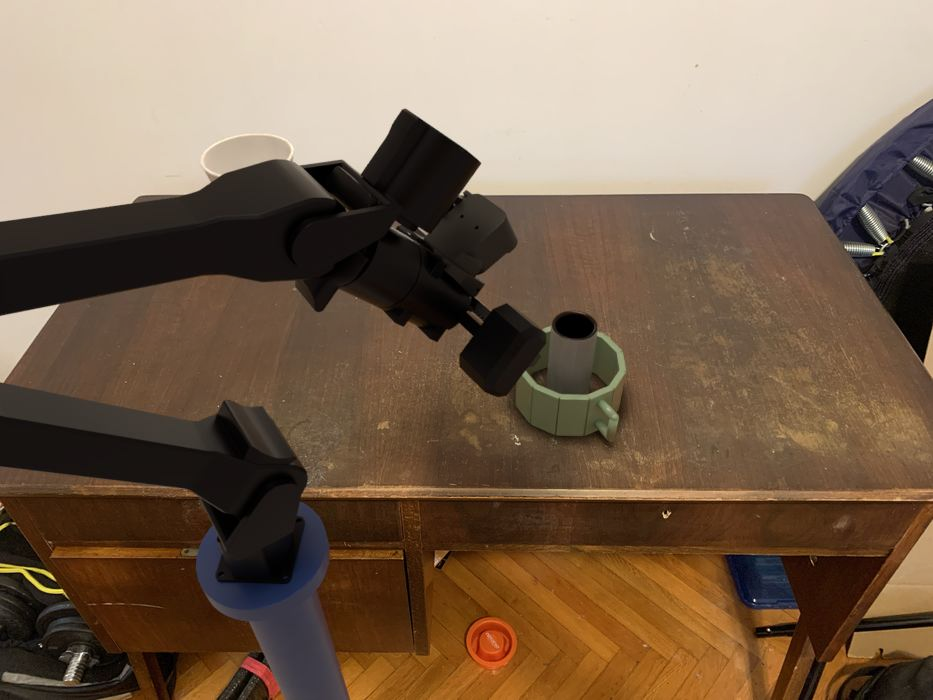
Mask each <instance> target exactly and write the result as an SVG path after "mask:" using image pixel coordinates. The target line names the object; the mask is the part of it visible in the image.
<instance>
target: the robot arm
mask: <svg viewBox="0 0 933 700" xmlns="http://www.w3.org/2000/svg"><path fill="white" fill-rule="evenodd" d="M481 165H482V162H481V161H480V160H479V159H478V158H477V157H476V156H474V154H472V153H471V152H470V151H468V149H466V148H464V147H463V146H462V145H460V144H459V143H458V142H456V141H454V140H453V139H451V138H450V137H448V136H447V135H446V134H444V133H443V132H441V131H440V130H438V129H437V128H435V127H434V126H433V125H431V124H429V123H428V122H426V121H425V120H424V119H422V118H421V117H420V116H418V115H416V114H415V113H414V112H412V111H410V110H409V109H407V108H406V107H405V108H402V109H401V110H400V112H399V113H398V115H397V116H396V117H395V119H394V120H393V122H392V124H391V125H390V128H389V131H388V133H387V135H386V136H385V137H384V140H382V142H381V144H380V145H379V147H378V148H377V150H376V151H375V153H374V154H373V155H372V157H371V159H370V160H369V161H368V163H367V164H366V166H365V167H364V169H363V171H362V172H360V171H358V170H357V169H355V168H354V167H353V166H351V165H350V164H349V163H348V162H347V161H346V160H344V159H334V160H328V161H322V162H321V161H320V162H315V163H313V162H312V163H307V164H298V163H296V162H295V161H293V162H292V161H289V160H283V159H273V160H269V161H265V162H261V163H258V164H255V165H251V166H248V167H244V168H241V169H238V170H234V171H231V172H228V173H225V174H223V175H221V176H220V177H218V178H217V179H215V180H214V181H212V182H209V183H208V184H206V185H205V186H204V187H202V188H200V189H199V190H196V191H193V192H190V193H187V194H183V195H179V196H175V197H168V198H161V199H152V200H146V201H140V202H139V201H138V202H132V203H124V204H118V205H110V206H104V207H95V208H88V209H82V210H74V211H66V212H60V213H53V214H45V215H38V216H32V217H31V216H30V217H24V218H17V219H16V218H15V219H9V220H1V221H0V317H3V316H7V315H13V314H17V313H22V312H28V311H33V310H37V309H38V310H39V309H42V308H48V307H54V306H59V305H63V304H68V303H73V302H79V301H83V300H88V299H93V298H99V297H103V296H108V295H113V294H118V293H123V292H129V291H133V290H138V289H143V288H149V287H153V286H158V285H164V284H169V283H174V282H179V281H183V280H184V281H185V280H190V279H194V278H198V277H207V276H209V277H210V276H228V277H232V278H236V279H237V278H238V279H242V280H248V281H251V282H252V281H253V282H257V283H277V282H294V286H295V288H296V290H297V291H298V292H299V294H300V295H301V296H302V297H303V298H304V300H305V301H306V302H307V303H308V304H309V306H310V307H311V308H312V309H313V310H314V311H315V312H316V313H321V312H324V310H325V309H326V308H327V306H328V305H329V303H330V301H331V300H332V299H333V298H334V296H335V295H336V293H337V292H338V291H339V290H340V291H342V292H345V293H346V294H348V295H351V296H353V297H355V298H357V299H358V300H361V301H364V302H366V303H367V304H370V305H372V306H374V307H376V308H378V309H380V310H382V311H383V312H384V313H385V314H386V315H387V316H388V318H389V319H390V320H391V321H392V322H393V323H395V324H396V325H398V326H401V327H403V328H404V327H405V326H406V325H407V324H408V323H410V324H412V325H415V326H416V327H417V328H418V329H419V330H420V331H421V332H422V333H423V334H424V335H425V336H426V337H427V338H428V339H429V340H431V341H433V342H436V343H439V341H440V339H441V338H442V336H444V334H445V332H446V331H450V330H452V329H454V328H455V327H457V326H458V325H460V326H462V328H464V329H465V330H466V331H467V332H468V333H469V334H470V335H471V336H472V337H470V339H469V341H468V342H467V343H466V345H465V346H464V347H463V349H462V350H461V352H460V353H459V355H458V360H459V361H458V362H459V365H458V367H459V368H460V370H462V371H463V372H464V373H465V374H466V375H467V376H468V378H469V379H471V380H472V382H474V383H475V384H476V385H477V386H478V387H479V388H480V390H481V391H482V392H484V393H486V394H488V395H490V396H493V397H496V398H503V397H507V396H508V395H509V394H510V392H511V391H512V389H513V388H515V384H516V383H517V381H518V380H519V379H520V377H521V376H522V375H523V373H524V372H525V371H526V369H527V368H530V367H533V366H535V364H536V363H537V362H538V361H539V359H540V358H541V355H540V354H539V352H540V351H541V350H542V348H543V347H544V346H545V344H546V343H547V338H546V332H545V331H543V330H542V329H543V328H542V327H540V326H539V325H538V324H537V323H535V322H534V321H533V320H531V319H530V318H529V317H528V315H525V314H524V313H523V312H521V311H520V310H519V309H517V308H516V307H515V306H513V305H511V304H509V303H508V302H506V303H504V304H500V305H498V306H496V307H494V308H492V309H490V308H489V307H488V306H486V305H485V304H484V303H483V302H482V301H480V300H479V298H477V296H478V295H479V293H480V292H481V291H482V289H483V288H484V286H485V285H486V283H485V282H483V281H482V280H481V279H480V278H478V277H477V276H480V275H483V274H484V273H486V272H487V271H488V270H489V269H490V268H491V267H493V266H494V265H495V264H496V263H497V262H499V261H500V260H501V259H502V258H503V257H504V256H505V255H506V254H510V253H512V251H514V250H515V249H516V247H517V246H518V244H519V243H518V242H519V240H518V237H517V234H516V233H515V231H514V228H513V227H512V224H511V222H510V220H509V217H508V215H507V213H506V212H505V210H504V209H502V208H501V207H499V206H498V205H497V204H495V203H494V202H493V201H491V200H490V199H488V198H486V196H484V195H482V194H481V193H472V192H470V191H469V190H467V189H465V188H466V186H467V185H468V183H469V181H471V179H472V178H473V176H474V175H475V174H476V172H477V171H478V169H479V168H480V167H481ZM464 189H465V190H464ZM463 190H464V191H463ZM461 193H462V194H463V195H460V194H461ZM395 222H396V223H398V224H399V225H397V226H396V227H393V225H394V224H395ZM474 314H475V315H476V316H475V315H474ZM477 317H478V318H479V319H480V320H479V319H478V318H477ZM481 321H482V322H481ZM0 468H5V469H14V470H21V471H22V470H23V471H31V472H40V473H45V474H46V473H48V474H55V475H65V476H74V477H81V478H89V479H99V480H107V481H114V482H115V481H116V482H124V483H132V484H140V485H148V486H156V487H164V488H166V487H167V488H173V489H182V490H187V491H189V492H190V493H192V494H193V495H195V496H196V497H198V499H199V501H200V502H201V505H202V506H203V509H204V511H205V512H206V513H205V514H207V516H208V519H209V521H210V522H211V524H212V526H214V528H215V531H216V533H217V535H218V536H217V543H218V545H219V547H220V549H221V551H222V555H221V558H220V562H219V565H218V568H217V571H216V574H215V577H216V579H217V581H218V582H232V583H265V584H287V583H289V582H290V581H291V579H292V576H293V572H294V567H295V563H296V559H297V555H298V551H299V546H300V542H301V538H302V534H303V529H304V525H305V520H304V518H303V517H301V516H297V513H298V508H299V504H300V502H301V499H302V494H303V493H304V491H305V489H306V487H307V485H308V481H309V476H308V471H307V469H306V468H305V467H304V465H303V463H302V462H301V460H300V458H299V457H298V456H297V454H296V452H295V451H294V449H293V448H292V446H291V445H290V444H289V442H288V440H287V439H286V437H285V436H284V434H283V432H282V431H281V430H280V428H279V427H278V425H277V424H276V422H275V421H274V419H273V418H272V417H270V415H269V414H268V411H267V410H266V409H265V408H264V406H263V405H257V406H246V405H242V404H240V403H237V402H235V401H232V400H231V399H224V400H223V401H222V402H221V404H220V407H219V408H218V410H217V412H215V413H214V414H212V415H209V416H207V417H205V418H202V419H199V420H188V419H184V418H178V417H174V416H169V415H164V414H159V413H154V412H149V411H145V410H139V409H134V408H130V407H124V406H120V405H114V404H110V403H105V402H99V401H95V400H89V399H84V398H80V397H75V396H70V395H65V394H61V393H54V392H50V391H46V390H40V389H37V388H36V389H35V388H31V387H27V386H26V387H25V386H20V385H17V384H16V385H15V384H11V383H5V382H0ZM298 521H301V522H300V523H297V522H298ZM221 574H224V576H222V577H219V576H220V575H221ZM285 576H288V578H286V579H283V578H284V577H285Z"/></svg>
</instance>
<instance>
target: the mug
mask: <svg viewBox="0 0 933 700" xmlns="http://www.w3.org/2000/svg"><path fill="white" fill-rule="evenodd" d="M541 329H542V330H543V331H545V332H546V338H547V343H546V344H545V346H544V347H543V348H542V350H541V351H540V352H539V354H540V355H541V358H540V359H539V361H538V362H537V363H536V364H535V366H533V367H530V368H527V369H526V371H525V372H524V373H523V375H522V376H521V377H520V379H519V380H518V381H517V383H516V384H515V385H514V390H515V391H514V394H515V395H514V401H515V402H514V403H515V407H516V408H517V410H518V412H519V413H520V414H521V415H522V416H523V417H524V418H525V420H526V421H527V422H528V424H530V426H533V427H535V428H537V429H539V430H542V431H544V432H546V433H548V434H550V435H553V436H556V437H558V436H559V437H586V436H588V435H591V434H593V433H595V432H597V431H599V432H600V434H601V435H602V436H603V437H604V438H605V440H606V441H608V442H614V441H615V440H616V436H617V431H618V426H619V420H620V416H619V414H618V413H617V412H618V411H619V409H620V405H621V400H622V396H623V391H624V385H625V380H626V374H627V367H626V360H625V356H624V352H623V350H622V349H621V347H619V345H617V344H616V343H615V342H614V340H613V339H611V338H610V337H609V335H606V334H605V333H603V332H600V331H598V332H597V339H596V346H595V353H594V359H593V366H592V373H591V374H594V375H596V376H597V377H598V378H599V379H600V380H601V381H602V382H603V383H604V384H605V385H606V386H604V387H602V388H600V389H598V390H595V391H593V392H591V393H590V392H589V394H588V395H574V394H559V393H557V392H554V391H552V390H550V389H547V388H546V386H543V385H541V384H538V383H537V382H536V381H535V380H534V378H533V377H532V375H533V374H535V373H537V372H540V371H542V370H545V369H548V359H549V347H550V335H551V325H549V326H547V327H544V328H541Z"/></svg>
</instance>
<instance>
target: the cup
mask: <svg viewBox="0 0 933 700" xmlns="http://www.w3.org/2000/svg"><path fill="white" fill-rule="evenodd" d="M294 155H295V148H294V145H293V144H292V143H291V142H290V141H289V140H287V139H286V138H284V137H281V136H279V135H276V134H272V133H263V132H262V133H261V132H259V133H258V132H257V133H255V132H253V133H252V132H251V133H243V134H237V135H234V136H229V137H227V138H224V139H221V140H219V141H216V142H215V143H213V144H212V145H210V146H209V147H208V148H206V149H205V150H204V151H203V153H202V155H201V156H200V159H199V165H200V167H201V168H202V170H203V171H204V173H205V174H206V176H207V179H208V180H209V183H211V182H212V181H214V180H215V179H217V178H218V177H220V176H221V175H223V174H225V173H228V172H231V171H234V170H238V169H241V168H244V167H248V166H251V165H255V164H258V163H261V162H265V161H269V160H273V159H283V160H289V161H292V162H294Z"/></svg>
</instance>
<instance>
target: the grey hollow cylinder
mask: <svg viewBox="0 0 933 700" xmlns="http://www.w3.org/2000/svg"><path fill="white" fill-rule="evenodd" d="M598 324H599V323H598V322H597V320H596V319H595V318H594V317H593V316H592V315H591V314H589V313H587V312H585V311H580V310H565V311H562V312H560V313H558V314H556V315H555V316H554V317H553V318H552V320H551V325H550V326H551V335H550V347H549V359H548V367H547V373H546V382H545V383H546V384H545V388H547V389H550V390H552V391H554V392H557V393H559V394H574V395H588V394H590V386H591V380H592V374H593V373H592V366H593V359H594V353H595V346H596V339H597V332H599V325H598Z"/></svg>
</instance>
